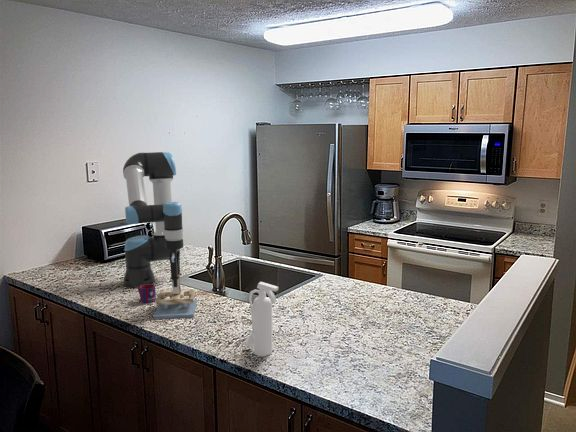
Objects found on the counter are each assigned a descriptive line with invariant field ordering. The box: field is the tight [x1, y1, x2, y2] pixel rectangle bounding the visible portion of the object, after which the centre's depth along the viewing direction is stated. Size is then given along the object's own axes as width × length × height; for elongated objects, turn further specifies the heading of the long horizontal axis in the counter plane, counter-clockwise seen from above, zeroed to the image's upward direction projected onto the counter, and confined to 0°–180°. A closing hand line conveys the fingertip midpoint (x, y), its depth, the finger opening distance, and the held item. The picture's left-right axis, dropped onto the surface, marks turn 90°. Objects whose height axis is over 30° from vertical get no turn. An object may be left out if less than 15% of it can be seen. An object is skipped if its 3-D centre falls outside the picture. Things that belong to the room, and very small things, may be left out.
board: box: [153, 299, 198, 320], centre depth 195 cm, size 16×16×5 cm
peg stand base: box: [155, 274, 196, 306], centre depth 196 cm, size 15×11×10 cm
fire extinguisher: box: [245, 281, 279, 357], centre depth 157 cm, size 7×12×25 cm, turn 61°
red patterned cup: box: [137, 283, 157, 305], centre depth 207 cm, size 7×10×7 cm
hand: (176, 291), depth 198 cm, fingers closed on peg stand base, 3 cm apart
